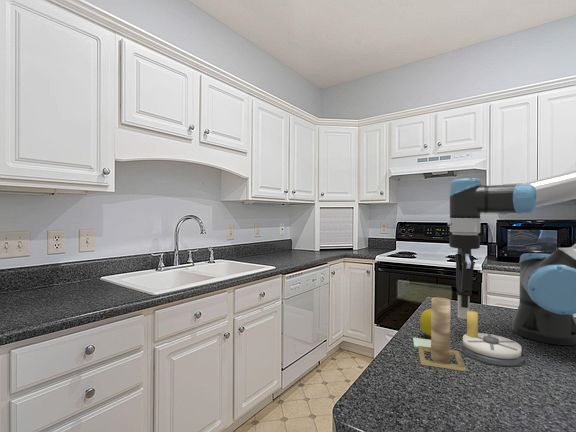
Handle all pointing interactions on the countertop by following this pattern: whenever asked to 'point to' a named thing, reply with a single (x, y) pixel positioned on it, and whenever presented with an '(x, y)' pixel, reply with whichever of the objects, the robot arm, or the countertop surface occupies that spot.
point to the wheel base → (492, 358)
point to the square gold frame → (440, 364)
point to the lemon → (426, 322)
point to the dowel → (440, 329)
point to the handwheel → (488, 341)
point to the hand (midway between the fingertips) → (463, 317)
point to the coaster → (421, 342)
